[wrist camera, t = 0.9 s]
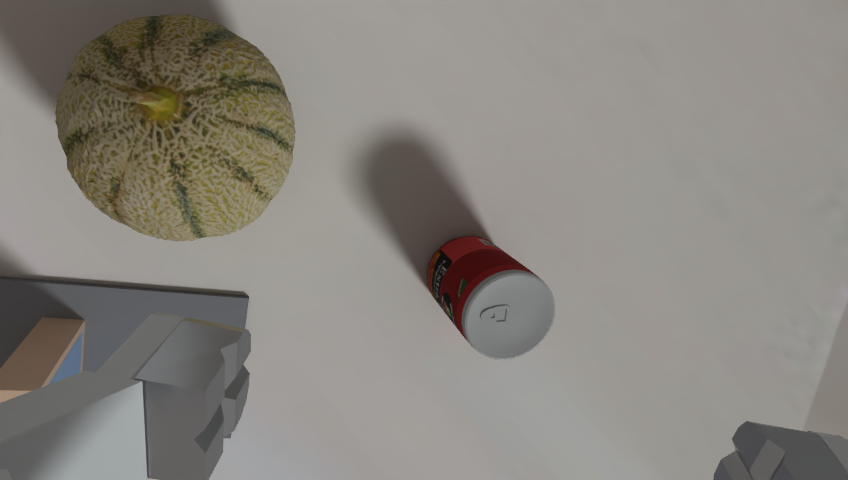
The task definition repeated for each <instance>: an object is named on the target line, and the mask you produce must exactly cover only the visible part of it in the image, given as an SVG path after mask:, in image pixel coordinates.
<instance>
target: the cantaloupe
mask: <svg viewBox="0 0 848 480" xmlns="http://www.w3.org/2000/svg"><path fill="white" fill-rule="evenodd" d="M55 122H56V124H57V128H58V138H59V140H60V143H61V145H62V147H63V150H64V152H65V154H66V156H67V168H68V170H69V172H70V173H71V175H72V178H73V179H74V180H75V182H76V183H77V184H78V186H79V188H80V189H81V191H82V193H83V194H84V195H85V197H86V198H87V199H88V200H90V201H91V202H92V203H93V204H94V206H95V207H97V208H98V209H99V210H101V212H103V213H104V214H106V215H108V216H109V217H110V218H111V219H114V220H116V221H117V222H119V223H123V224H125V225H127V226H129V227H131V228H132V229H133V230H135V231H137V232H139V233H142V234H145V235H148V236H152V237H156V238H157V239H159V238H162V239H164V240H172V241H186V240H191V241H193V240H196V239H200V238H202V237H218V236H223V235H226V234H230V233H233V232H236V231H237V230H241V229H242V228H243V227H245V226H247V225H249V224H250V223H252V222H253V221H254V220H255V219H256V218H258V217H259V216H260V215H261V214H262V213H263V211H264V210H265V209H266V207H267V206H268V204H269V202H270V200H271V199H272V198H274V197H275V196H276V195H277V194H278V192H279V190H280V189H281V187H282V185H283V183H284V181H285V180H286V176H287V174H288V173H289V168H290V166H291V165H292V160H293V147H294V141H295V133H296V132H295V127H294V125H295V123H294V118H293V112H292V109H291V103H290V102H289V101H288V98H287V96H286V93H285V88H284V86H283V83H282V81H281V79H280V76H279V75H278V73H277V71H276V70H275V67H274V66H273V65H272V64H271V63H270V60H269V59H268V58H266V57H265V56H264V54H263V53H262V52H261V51H260V50H259V49H258V48H257V47H256V46H254V45H252V44H251V43H249V42H248V41H247V40H245V39H243V38H241V37H239V36H237V35H235V34H234V33H232V32H231V31H229V30H228V29H226V28H225V27H223V26H220V25H218V24H217V23H211V22H210V21H208V20H205V19H201V18H197V17H193V16H190V15H163V16H150V17H143V18H137V19H132V20H128V21H126V22H124V23H122V24H119V25H116V26H114V27H113V28H111V29H110V30H108V31H107V32H105V33H104V34H103V35H101V36H100V37H98V38H96V39H94V40H92V41H90V42H89V43H88V44H87V45H86V46H85V47H84V48H83V49H82V50H81V51H80V52H79V53H78V54H77V55H76V57H75V59H74V62H73V64H72V65H71V67H70V70H69V73H68V77H67V79H66V81H65V82H64V84H63V85H62V87H61V90H60V92H59V94H58V98H57V105H56V121H55Z"/></svg>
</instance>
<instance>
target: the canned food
mask: <svg viewBox="0 0 848 480" xmlns="http://www.w3.org/2000/svg"><path fill="white" fill-rule="evenodd" d="M428 286H429V290H430V292H431V294H432V296H433V297H434V299H435V300H436V301H437V303H438V304H439V305H440V307H441V308H442V309H443V310H444V312H445V313H446V314H447V316H448V317H449V318H450V320H451V321H452V322H453V323H454V325H455V326H456V327H457V329H458V330H459V331H460V333H461V334H462V335H463V336H464V338H465V339H466V340H467V341H468V342H469V344H470V345H471V346H472V347H473V348H474V349H475V350H477V351H478V352H479V353H481V354H482V355H485V356H487V357H489V358H494V359H511V358H515V357H518V356H521V355H524V354H525V353H527V352H529V351H531V350H532V349H534V348H535V347H536V346H537V345H538V344H539V343H540V342H541V341H542V340H543V339H544V338H545V336H546V335H547V334H548V332H549V330H550V328H551V326H552V324H553V320H554V316H555V302H554V298H553V295H552V292H551V291H550V289H549V288H548V286H547V285H546V284H545V283H544V282H543V281H542V280H541V279H540V278H539V277H538V276H536V275H535V274H534V273H533V272H531V271H530V270H529V269H527V268H526V267H525V266H523V265H522V264H520V263H519V262H518V261H516V260H515V259H514V258H512V257H511V256H509V255H508V254H507V253H505V252H504V251H502V250H501V249H500V248H498V247H497V246H496V245H494V244H493V243H491V242H489V241H488V240H486V239H483V238H480V237H460V238H456V239H453V240H451V241H449V242H447V243H446V244H444V245H443V246H442V247H440V249H439V250H438V251H437V252H436V253H435V254H434V256H433V258H432V259H431V262H430V264H429V268H428Z"/></svg>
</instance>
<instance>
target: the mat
mask: <svg viewBox="0 0 848 480" xmlns="http://www.w3.org/2000/svg"><path fill="white" fill-rule="evenodd" d="M248 300H249V296H237V295H224V294H211V293H198V292H185V291H173V290H160V289H147V288H134V287H121V286H108V285H95V284H82V283H69V282H57V281H44V280H31V279H18V278H5V277H0V368H1V367H2V366H3V365H4V363H5V362H6V361H7V360H8V359H9V357H10V356H11V355H12V354H13V353H14V351H15V350H16V349H17V348H18V346H19V345H20V344H21V343H22V342H23V340H24V339H25V338H26V337H27V336H28V334H29V333H30V332H31V331H32V330H33V328H34V327H35V326H36V325H37V323H38V322H39V321H40V320H41V319H42V317H46V318H62V319H79V320H85V331H84V348H83V365H82V372H83V371H90V372H96V371H97V370H98V369H99V368H100V367H101V366H102V365H103V364H104V362H105V361H106V360H107V359H108V358H109V357H110V356H111V355H112V354H113V353H114V352H115V351H116V350H117V349H118V348H119V347H120V346H121V345H122V344H123V343H124V342H125V340H126V339H127V338H128V337H129V336H130V335H131V334H132V333H133V332H134V331H135V330H136V329H137V328H138V327H139V326H140V325H141V324H142V323H143V322H144V321H145V320H146V318H147V317H148V316H149V315H151V314H153V313H157V312H161V313H167V314H172V315H177V316H183V317H186V318H193V319H198V320H203V321H208V322H213V323H218V324H223V325H228V326H232V327H237V328H242V329H245V323H246V315H247V308H248ZM223 438H231V433H230V434H228V435H226V436H224V437H223Z"/></svg>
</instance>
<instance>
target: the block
mask: <svg viewBox="0 0 848 480" xmlns="http://www.w3.org/2000/svg"><path fill="white" fill-rule="evenodd" d="M84 331H85V320H79V319H62V318H46V317H42V319H41V320H40V321H39V322H38V323H37V325H36V326H35V327H34V328H33V330H32V331H31V332H30V333H29V334H28V336H27V337H26V338H25V339H24V340H23V342H22V343H21V344H20V345H19V346H18V348H17V349H16V350H15V351H14V353H13V354H12V355H11V356H10V357H9V359H8V360H7V361H6V362H5V363H4V365H3V366H2V367H1V368H0V403H1V402H4V401H7V400H9V399H12V398H15V397H17V396H20V395H23V394H25V393H28V392H30V391H33V390H36V389H38V388H41V387H44V386H46V385H49V384H52V383H54V382H57V381H59V380H62V379H65V378H67V377H70V376H73V375H75V374H78V373H80V372H82V365H83V348H84Z"/></svg>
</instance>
